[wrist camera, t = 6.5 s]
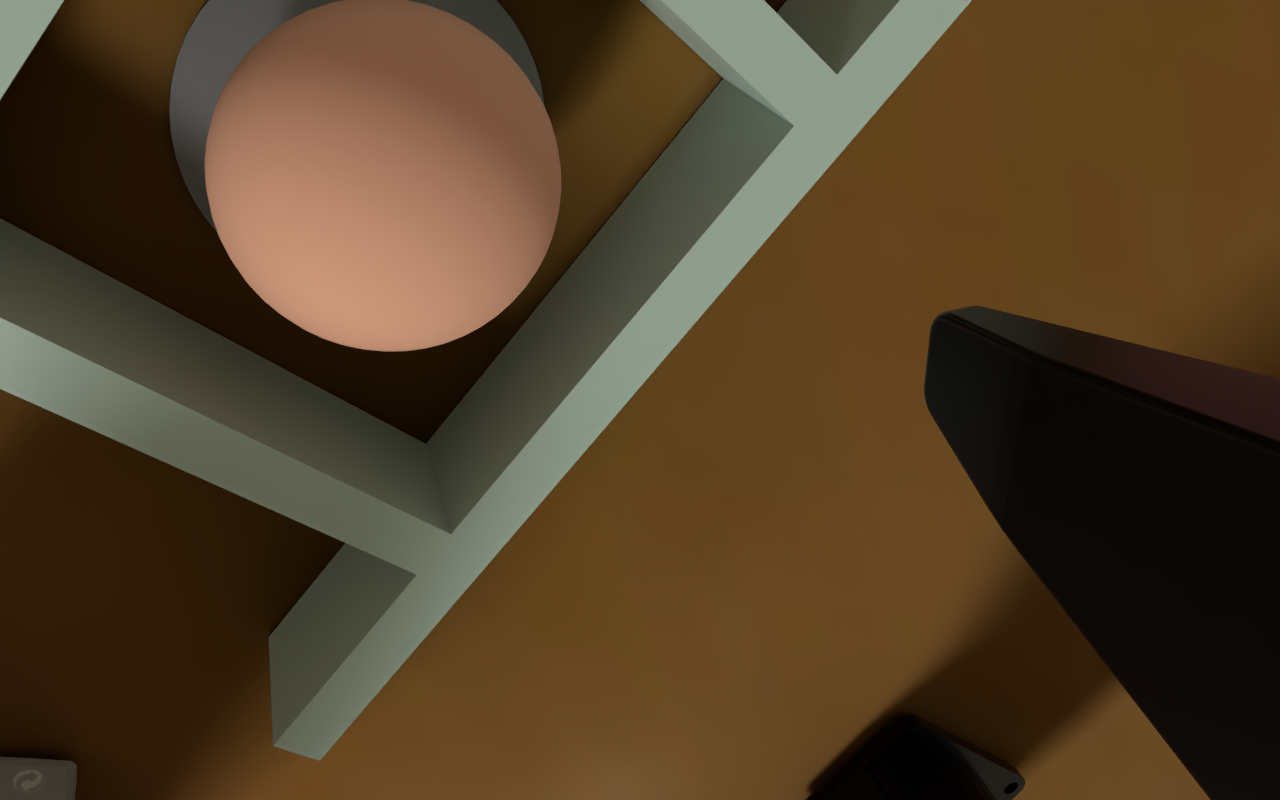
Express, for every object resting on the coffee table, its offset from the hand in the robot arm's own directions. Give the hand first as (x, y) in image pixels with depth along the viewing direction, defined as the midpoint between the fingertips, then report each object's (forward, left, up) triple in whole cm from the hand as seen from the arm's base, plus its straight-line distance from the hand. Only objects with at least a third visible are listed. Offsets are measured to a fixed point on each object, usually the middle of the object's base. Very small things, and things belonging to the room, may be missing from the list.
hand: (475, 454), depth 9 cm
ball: (0, 0, -10) cm, 10 cm away
